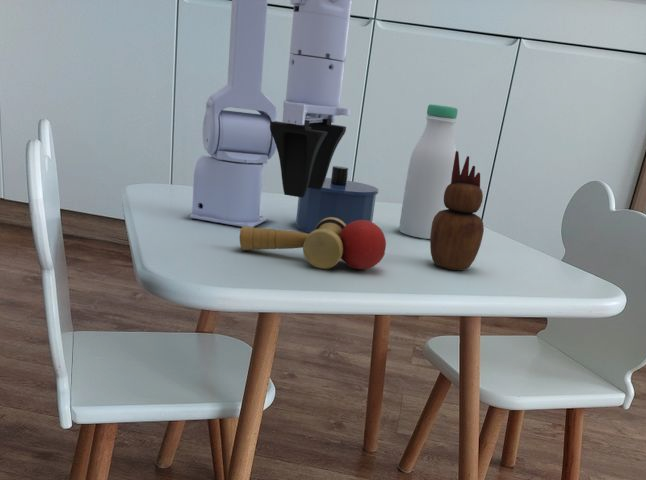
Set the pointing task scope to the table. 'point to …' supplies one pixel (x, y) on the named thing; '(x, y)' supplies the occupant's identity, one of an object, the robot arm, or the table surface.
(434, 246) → the wooden figurine
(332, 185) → the pot lid
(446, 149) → the milk bottle
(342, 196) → the pot
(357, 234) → the kendama
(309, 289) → the table surface
